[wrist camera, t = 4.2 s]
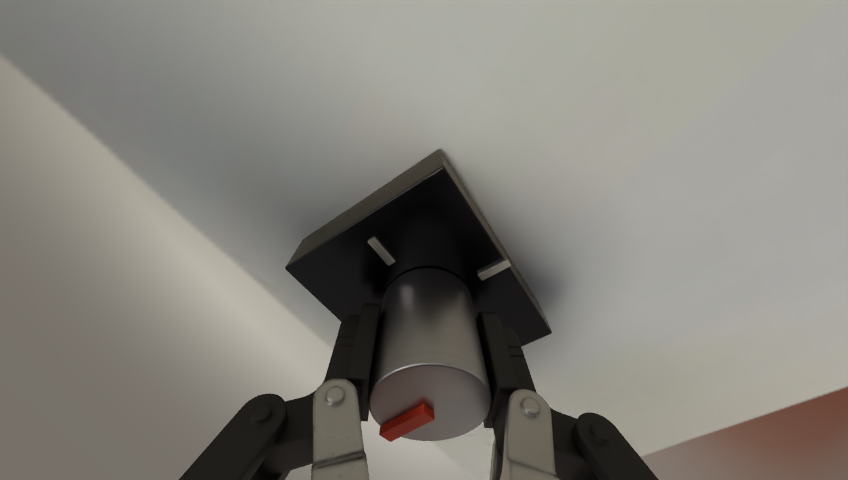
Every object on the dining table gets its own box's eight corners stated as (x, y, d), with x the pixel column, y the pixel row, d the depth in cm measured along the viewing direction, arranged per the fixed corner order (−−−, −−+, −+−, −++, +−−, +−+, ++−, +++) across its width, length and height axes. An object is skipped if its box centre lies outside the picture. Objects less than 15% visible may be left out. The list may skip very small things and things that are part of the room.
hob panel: (300, 240, 16) (280, 272, 14) (441, 146, 14) (446, 165, 12) (415, 357, 20) (415, 396, 18) (538, 299, 18) (556, 335, 16)
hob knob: (434, 250, 14) (441, 352, 9) (488, 308, 15) (518, 419, 11) (364, 299, 15) (339, 410, 10) (421, 347, 16) (422, 463, 12)
